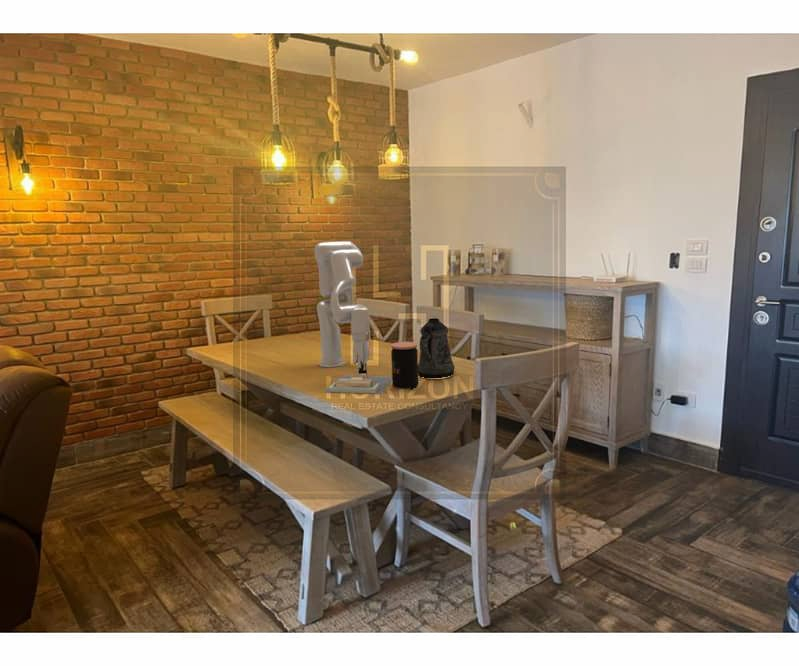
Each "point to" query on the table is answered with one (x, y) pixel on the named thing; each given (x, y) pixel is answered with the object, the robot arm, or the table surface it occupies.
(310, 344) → the table surface
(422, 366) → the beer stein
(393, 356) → the coffee jar
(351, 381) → the t block
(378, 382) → the mat
